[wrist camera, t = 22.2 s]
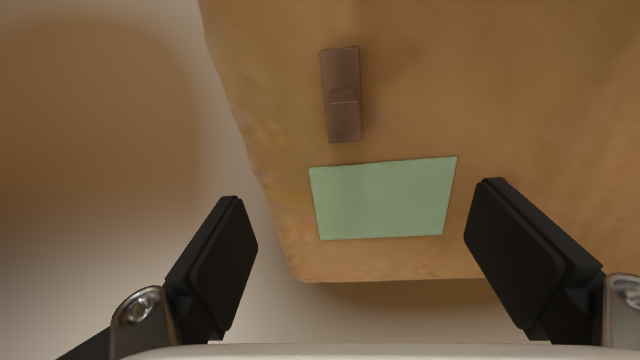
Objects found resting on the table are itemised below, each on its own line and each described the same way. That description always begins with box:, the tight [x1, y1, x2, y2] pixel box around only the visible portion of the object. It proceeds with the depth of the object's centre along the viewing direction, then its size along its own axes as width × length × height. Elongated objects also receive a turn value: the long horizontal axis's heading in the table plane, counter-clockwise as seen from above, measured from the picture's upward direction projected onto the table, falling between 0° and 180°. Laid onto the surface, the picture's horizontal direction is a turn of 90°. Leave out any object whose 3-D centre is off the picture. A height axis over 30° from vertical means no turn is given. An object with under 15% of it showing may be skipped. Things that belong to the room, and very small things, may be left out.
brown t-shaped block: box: [319, 46, 362, 143], centre depth 25 cm, size 4×10×8 cm, turn 7°
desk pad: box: [308, 156, 457, 240], centre depth 37 cm, size 20×14×1 cm
